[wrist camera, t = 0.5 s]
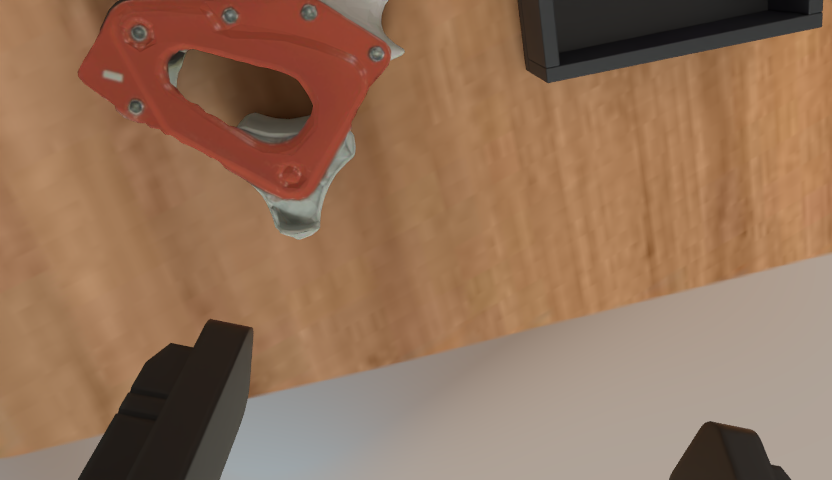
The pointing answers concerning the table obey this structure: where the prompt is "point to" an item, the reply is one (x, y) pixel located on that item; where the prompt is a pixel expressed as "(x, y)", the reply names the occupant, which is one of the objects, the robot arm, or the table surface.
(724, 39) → the tray
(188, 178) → the table surface
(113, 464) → the robot arm
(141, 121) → the tape dispenser
